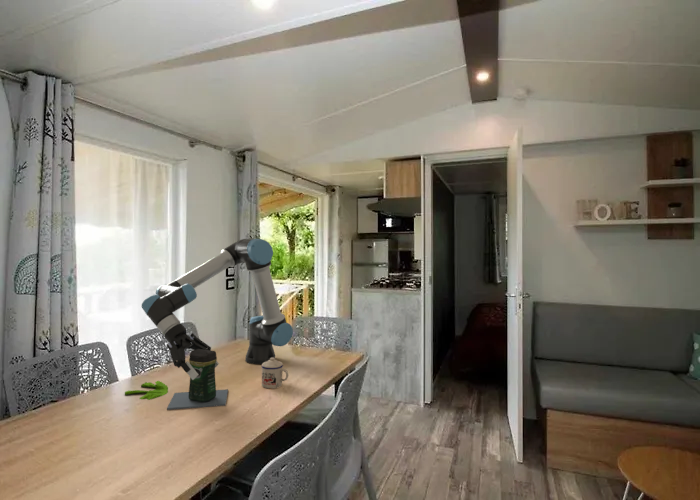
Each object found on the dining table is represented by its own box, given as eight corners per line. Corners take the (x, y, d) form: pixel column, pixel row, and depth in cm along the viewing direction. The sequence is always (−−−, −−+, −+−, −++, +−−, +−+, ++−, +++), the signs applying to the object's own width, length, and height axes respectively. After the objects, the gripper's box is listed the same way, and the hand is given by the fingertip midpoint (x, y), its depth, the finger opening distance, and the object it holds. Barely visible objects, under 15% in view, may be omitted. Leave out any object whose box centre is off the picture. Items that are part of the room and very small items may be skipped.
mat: (227, 390, 157) (227, 389, 157) (225, 405, 142) (225, 403, 142) (174, 394, 152) (174, 392, 152) (166, 409, 137) (166, 408, 137)
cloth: (152, 403, 144) (152, 397, 144) (102, 398, 148) (102, 391, 148) (186, 385, 164) (186, 379, 164) (141, 380, 168) (141, 375, 168)
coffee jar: (219, 396, 149) (220, 348, 149) (205, 404, 141) (206, 353, 141) (199, 393, 152) (200, 346, 152) (184, 400, 145) (185, 350, 145)
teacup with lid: (256, 387, 161) (257, 359, 161) (267, 380, 170) (268, 354, 170) (283, 391, 158) (283, 362, 158) (292, 383, 167) (293, 356, 167)
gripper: (186, 329, 162) (218, 368, 159) (142, 343, 138) (178, 389, 134) (198, 317, 161) (230, 356, 158) (155, 329, 136) (192, 375, 133)
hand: (206, 371), depth 146 cm, fingers open, 13 cm apart
